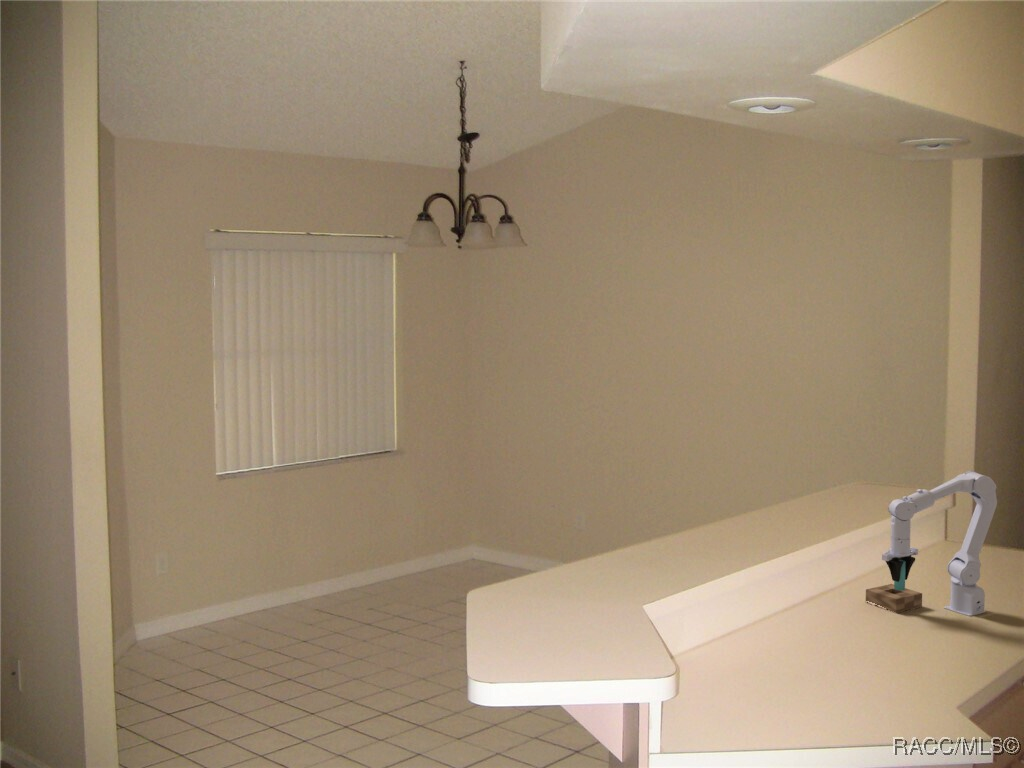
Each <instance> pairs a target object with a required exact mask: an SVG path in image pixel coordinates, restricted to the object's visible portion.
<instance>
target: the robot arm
mask: <svg viewBox="0 0 1024 768" xmlns="http://www.w3.org/2000/svg"><path fill="white" fill-rule="evenodd" d="M997 487H998V486H997V485H996V483H995V481H994V480H993V478H991V476H988V475H983V474H980V473H978V472H976V471H975V470H968V471H966V472H964V473H960V474H958V475H957V476H955V477H953V478H952V479H950V480H948V481H945V482H944V483H942V484H940V485H938V486H936V487H934V488H932V489H930V490H928V489H924V488H923V489H921V488H919V489H916V490H915V491H916V492H915V493H912V494H910V495H908V496H906V495H904V496H902V499H901V498H897V499H893V500H892V501H891V503H889V505H888V507H887V511H888V513H889V515H890V518H891V519H890V548H888V549H887V551H886V552H885V553H881V561H884V562H885V563H886V564H887V566H888V568H889V572H890V576H891V580H892V582H893V581H897V582H899V580H900V572H901V567H902V565H903V563H904V562H903V561H899V560H904V561H906V564H905V581H907V580H908V578H909V573H910V570H911V568H912V567H913V565H914V563H915V561H916V557H914V556H918V555H919V548H915V547H911V526H912V525H911V519H913V517H914V515H915V514H917V513H919V512H922V511H924V510H926V509H928V508H931V507H933V506H934V505H935V501H937V500H939V499H942V498H945V497H948V496H950V495H953V494H955V493H959V492H963V493H968V494H970V495H971V496H972V498H973V499H974V502H975V503H976V505H975V507H974V511H973V514H972V516H971V519H970V521H969V525H968V527H967V531H966V533H965V536H964V539H963V542H962V544H961V547H960V550H958V551H957V552H955V553H954V555H953V557H952V559H951V560H950V561H949V562H948V563H947V567H946V568H947V572H948V574H949V575H950V597H949V598H950V599H949V600H950V602H949V605H946V606H945V605H944V606H943V608H944V609H946V610H949V611H953V612H955V613H959V614H961V615H964V616H968V617H972V616H973V617H974V616H976V615H980V614H981V615H982V614H983V613H984V614H985V613H987V611H986V610H985V597H986V595H985V590H984V589H983V587H981V586H978V584H977V583H978V582H979V580H980V579H981V578H980V577H981V572H980V570H981V567H982V563H981V560H980V553H981V551H982V548H983V545H984V542H985V539H986V537H987V535H988V531H989V529H990V525H991V523H992V520H993V517H994V514H995V511H996V508H997V506H998V499H997V492H996V491H997Z"/></svg>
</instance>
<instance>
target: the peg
mask: <svg viewBox="0 0 1024 768" xmlns="http://www.w3.org/2000/svg"><path fill="white" fill-rule="evenodd" d="M899 561H903V562H904V563H903V565H902V567H901V572H900V580H899V582H897V581H894V583H893V585H894V589H895V590H901V591H902V590H905V588H906V580H905V564H906V561H904V560H899Z"/></svg>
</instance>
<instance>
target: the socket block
mask: <svg viewBox="0 0 1024 768" xmlns="http://www.w3.org/2000/svg"><path fill="white" fill-rule="evenodd" d="M866 601H869V602H872V603H875V604H877V605H880V606H882V607H884V608H886V609H888V610H891V611H894V612H896V613H895V614H898V613H897V612H899V613H902V612H901V611H903V612H906V611H905V610H908V611H910V610H909V609H912V610H915V609H914V608H916V609H920V608H922V607H923V593H922V592H918V591H915V590H912V589H909V588H906V587H905V590H902V591H901V590H895V589H894V583H890V584H885V585H880V586H876V587H871V588H867V589H865V602H866ZM919 607H920V608H919ZM888 610H887V611H888ZM891 611H890V612H891ZM894 612H893V613H894Z"/></svg>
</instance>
